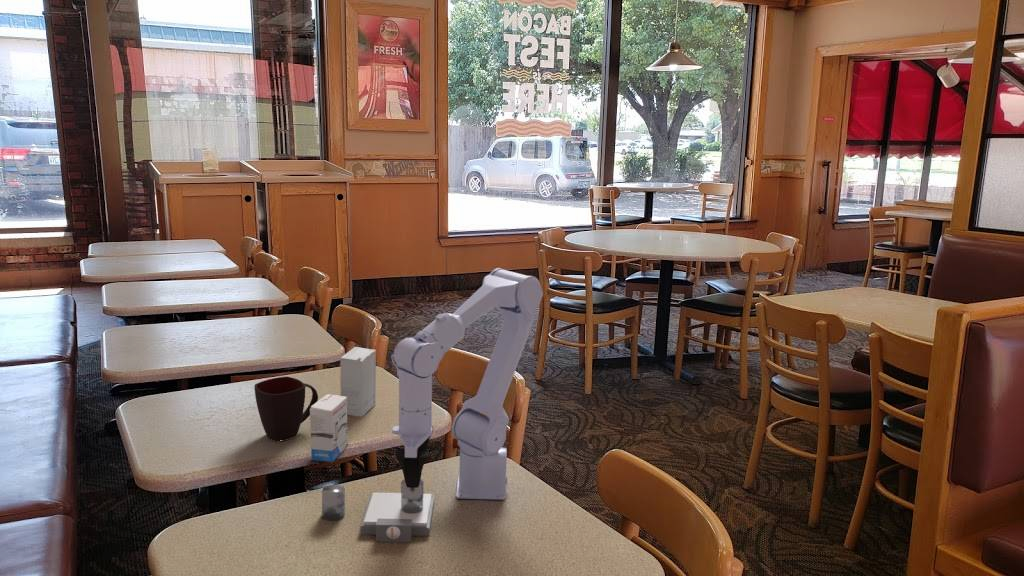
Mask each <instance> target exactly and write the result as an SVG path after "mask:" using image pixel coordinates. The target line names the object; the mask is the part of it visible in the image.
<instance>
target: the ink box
mask: <svg viewBox="0 0 1024 576" xmlns="http://www.w3.org/2000/svg"><path fill="white" fill-rule="evenodd" d="M309 422H310V423H309V425H310V426H309V427H310V428H309V429H310V451H311V461H318V462H327V463H328V462H329V463H333V462H334V461H335V460H336V459H337V458H338V457H339V456H340V455H341V454H342V453H343V452H344V450H345V449H346V448H347V447H346V445H347V443H348V442H349V440H348V415H347V397H345V396H341V395H336V394H331V393H328V394H327V393H326V394H325V395H324V396H323V397H321V398H320V399H318V401H317V402H316V403H315V404H314V405H312V406H311V408H310V416H309ZM348 444H349V443H348ZM345 447H346V448H345Z"/></svg>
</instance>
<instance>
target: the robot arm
mask: <svg viewBox="0 0 1024 576" xmlns="http://www.w3.org/2000/svg"><path fill="white" fill-rule="evenodd" d="M543 296H544V292H543V289H542V285H541V282H540V280H539V279H538V278H537V277H536V276H533V275H526V274H522V273H518V272H514V271H510V270H506V269H504V268H501V267H497V268H494V269H493V270H492V271H491V272H490V273H488V274H487V275H485V276H484V277H483V280H482V285H481V286H480V287H479V288H478V289H477V290H476V291H475V292H474V293H473V294H472V295H471V296H470V297H469V298H468V299H466V300H465V302H463V303H462V304H461V305H460V306H459V307H458V308H457V309H456V310H455V311H454V312H453V313H449V312H444V313H439V314H438V315H436V316H435V318H434V320H433V321H432V322H430V323H428V324H427V326H425V327H424V328H423V329H421V330H419V331H418V332H417V333H416V335H414V336H413V337H411V336H409V337H405V338H403V339H402V340H400V341H399V342H398V343H396V345H395V347H394V351H393V354H391V356H390V359H391V363H392V364H393V365H394V367H395V368H396V376H397V377H398V425H394V426H393V427H392V430H391V433H392V434H393V435H398V436H399V438H400V440H401V443H402V444H403V446H404V448H396V450H395V458H396V460H397V462H398V464H399V465H400V467H401V470H402V474H403V480H404V479H405V483H406V486H407V487H409V488H418V487H419V484H420V479H422V473H423V469H424V466H425V463H426V461H427V460H428V457H429V454H430V451H427V448H428V444H429V441H430V439H431V437H432V435H433V433H434V426H433V425H432V421H433V420H432V419H433V418H432V417H433V415H432V410H433V408H432V407H433V404H432V401H433V400H432V399H433V398H432V397H433V389H432V388H433V374H434V373H435V372H436V371H437V370H438V368H439V364H440V362H441V360H442V359H443V358H444V356H445V354H446V353H447V352H449V351H450V350H451V349H452V348H453V347H454V346H456V345H457V344H458V343H459V342H460V341H461V340H462V339H464V337H465V333H466V328H467V327H468V326H470V325H472V324H473V323H474V322H475V321H477V320H478V319H480V318H481V317H484V315H486V314H487V313H488V312H490V311H491V310H493V309H494V308H495V307H496V308H497V310H498V311H499V312H500V314H501V315H502V318H503V321H504V322H503V324H502V327H501V330H500V333H498V338H497V339H496V342H495V345H494V347H493V351H492V352H491V356H490V358H489V360H488V363H487V367H486V368H485V372H484V374H483V378H482V380H481V382H480V385H479V387H478V390H477V393H476V395H475V396H474V397H471V398H469V399H467V400H465V401H464V402H463V405H462V407H461V409H460V411H459V412H458V413H457V414H456V415H455V417H454V419H453V422H452V426H451V432H452V435H453V437H454V438H455V439H456V440H457V445H458V446H459V467H458V468H459V471H458V472H459V473H458V475H459V476H458V477H457V483H456V490H455V491H456V492H455V497H456V499H458V500H459V499H462V500H463V499H464V500H465V499H466V500H470V499H471V500H499V501H500V500H501V501H502V500H506V486H507V484H508V474H507V461H508V459H507V458H508V457H507V455H508V454H507V453H508V451H507V449H508V448H506V447H504V444H505V442H506V438H507V429H508V426H509V425H508V424H509V422H510V419H509V416H508V414H507V412H506V410H505V409H504V407H503V405H504V402H505V399H506V396H507V394H508V392H509V389H510V386H511V383H512V381H513V378H514V375H515V373H516V369H517V367H518V364H519V362H520V359H521V356H522V353H523V351H524V348H525V346H526V343H527V341H528V338H529V336H530V333H531V332H530V331H531V329H532V326H533V325H534V321H535V317H536V314H537V312H538V309H539V306H540V304H541V301H542V298H543ZM484 415H485V416H484Z"/></svg>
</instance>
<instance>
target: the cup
mask: <svg viewBox="0 0 1024 576" xmlns="http://www.w3.org/2000/svg"><path fill="white" fill-rule="evenodd" d="M253 388H254V396H255V402H256V408H257V410H258V414H259V415H258V416H259V418H260V421H261V425H262V428H263V430H264V432H265V435H266V437H267V438H268V439H269V438H270V440H271V439H272V440H271V441H273V440H275V441H274V442H276V441H280V440H285V441H287V440H286V439H289V438H291V439H293V438H292V437H294V436H295V437H297V436H296V435H298V433H299V430H300V426H301V424H302V423H304V421H306V420H307V419H308V418H310V408H311V406H312V405H314V404H315V403H316V402H317V401H319V394H318V392H317V390H316V389H315V387H314V386H313V385H311V384H309V383H304V382H303V381H301V380H300V379H297V378H296V377H291V376H279V377H273V378H269V379H265V380H262V381H260V382H257V383H255V384H254V387H253ZM306 388H308V389H310V390H311V393H312V395H311V400H310V402H309V405H308V406H307V407H306V409H304V408H305V403H306V402H305V401H306ZM304 410H305V411H304ZM295 437H294V438H295ZM289 440H290V439H289ZM280 442H281V441H280Z"/></svg>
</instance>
